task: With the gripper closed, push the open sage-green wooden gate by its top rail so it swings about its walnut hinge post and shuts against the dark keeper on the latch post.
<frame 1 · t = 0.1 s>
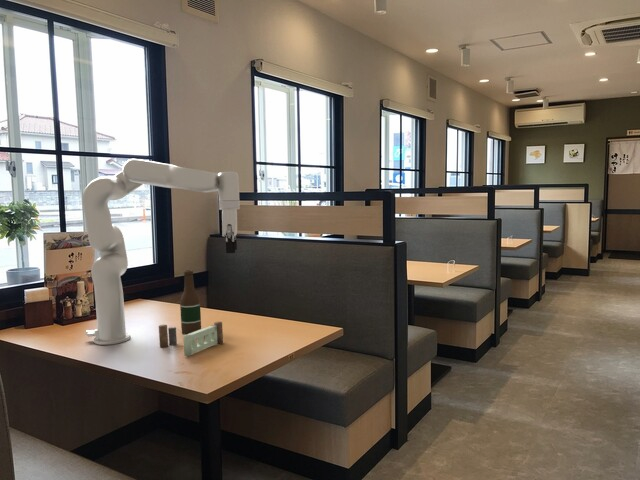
hand: (231, 251, 187), 31 cm above the table, fingers open, 9 cm apart
gate: (200, 340, 169), point 4 cm above the table, hinge at 55.0°
beer bottle: (191, 332, 193), on the table
gate posts: (219, 343, 178), on the table
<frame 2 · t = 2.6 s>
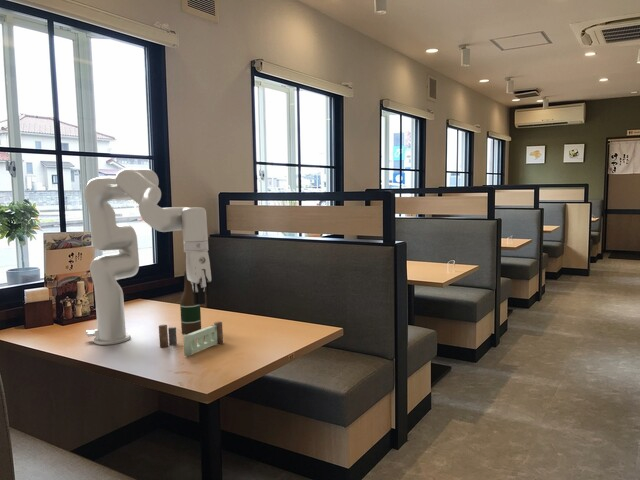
hand: (199, 303, 159), 18 cm above the table, fingers closed
nothing on the table moved.
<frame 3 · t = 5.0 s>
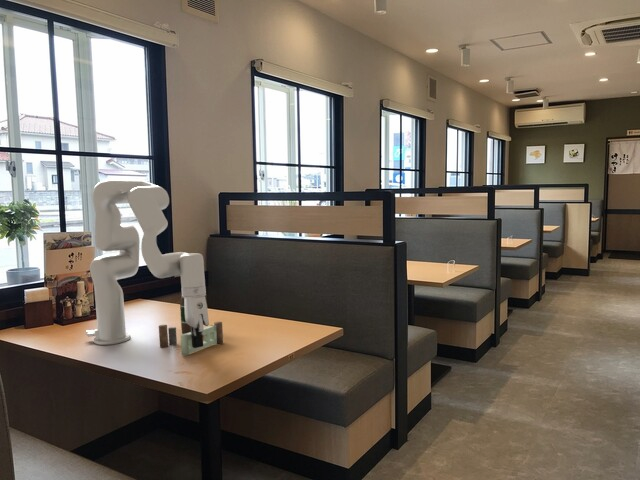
hand: (197, 346, 164), 3 cm above the table, fingers closed
gate: (198, 339, 170), point 4 cm above the table, hinge at 50.4°, touching gripper
everything else where it was.
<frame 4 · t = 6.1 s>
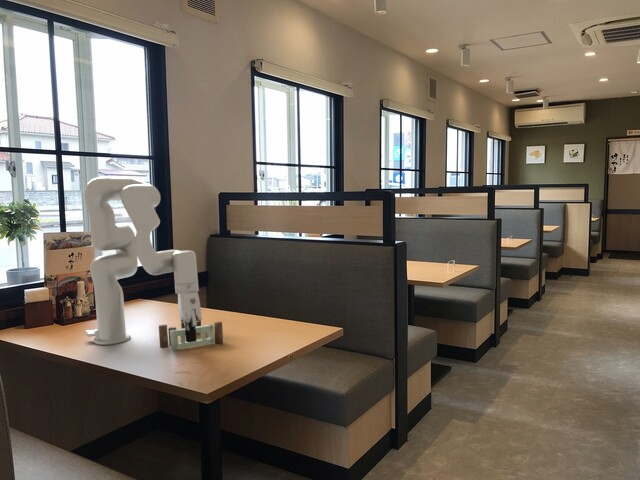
hand: (191, 341, 169), 3 cm above the table, fingers closed
gate: (192, 337, 173), point 4 cm above the table, hinge at 21.1°, touching gripper
everything else where it was.
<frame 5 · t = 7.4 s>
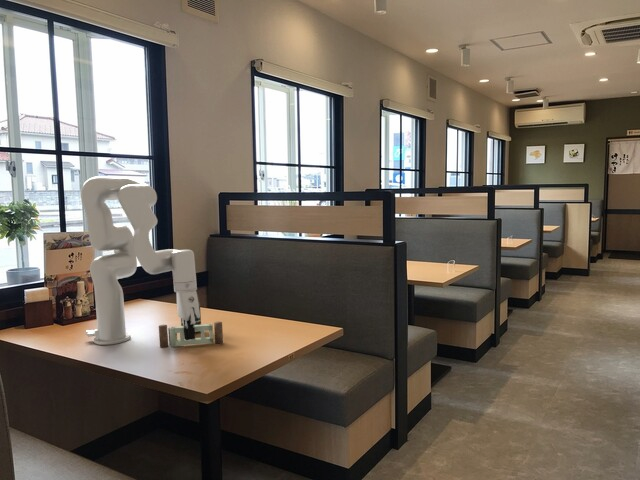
hand: (189, 338, 172), 3 cm above the table, fingers closed
gate: (191, 335, 175), point 4 cm above the table, hinge at 5.2°, touching gripper
everything else where it was.
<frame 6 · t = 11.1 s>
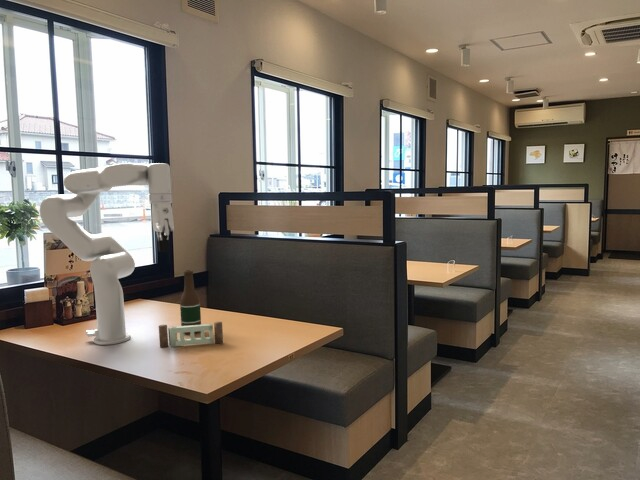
hand: (163, 251, 177), 33 cm above the table, fingers closed
gate: (191, 335, 175), point 4 cm above the table, hinge at 5.0°
everything else where it was.
at the end: gate at +5° (first picture: +55°); gate touching nothing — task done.
